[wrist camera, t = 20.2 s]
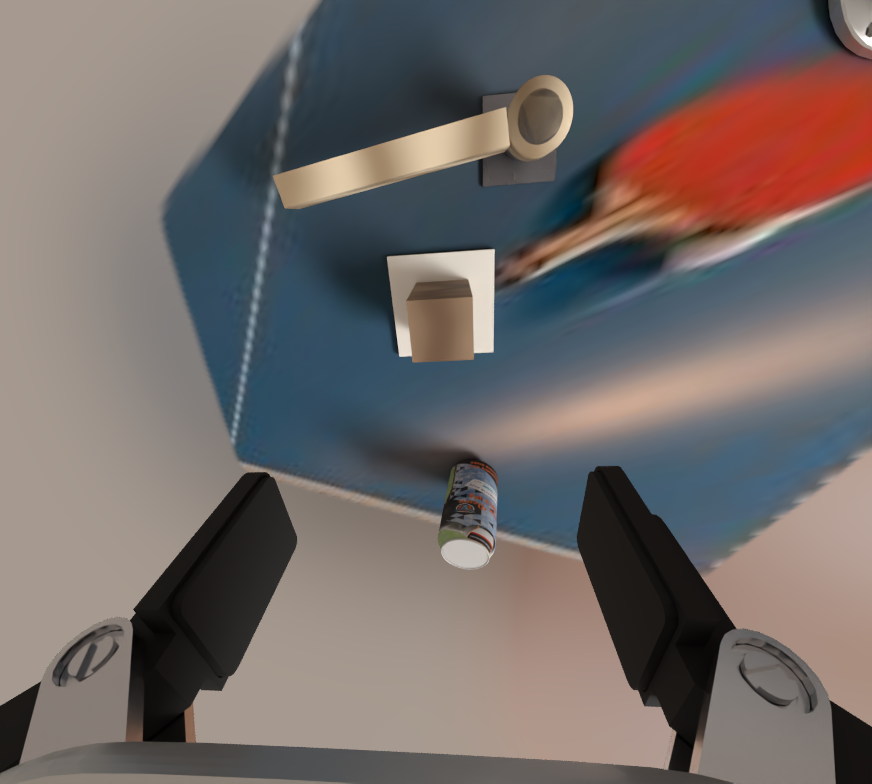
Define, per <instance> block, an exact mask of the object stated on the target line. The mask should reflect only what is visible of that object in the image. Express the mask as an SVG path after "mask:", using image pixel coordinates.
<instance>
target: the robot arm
mask: <svg viewBox="0 0 872 784" xmlns="http://www.w3.org/2000/svg"><path fill="white" fill-rule="evenodd" d="M828 4H829V13H830V19H831V21H832V24H833V27H834V30H835V33H836V35H837V36H838V37H839V39H840V40H841V41H842V43H843V44H844V46H845V47H847V48H848V49H849V50H851V51H852V52H854V53H855V54H856V55H858V56H862V57H865V58H868V59H871V60H872V0H828ZM577 543H578V548H579V551H580V553H581V556H582V559H583V562H584V564H585V567H586V570H587V572H588V575H589V578H590V581H591V583H592V586H593V589H594V592H595V594H596V597H597V600H598V602H599V605H600V608H601V610H602V613H603V616H604V619H605V621H606V624H607V627H608V629H609V632H610V635H611V638H612V640H613V643H614V646H615V648H616V651H617V654H618V656H619V659H620V662H621V665H622V668H623V670H624V673H625V675H626V678H627V681H628V683H629V685H630V687H631V688H632V689H633V690H638V691H639V693H640V696H641V698H642V701H643V704H644V706H652V707H653V706H655V707H662V710H663V712H664V715H665V717H666V719H667V722H668V724H669V726H670V727H671V728H672V729H673V730H672V734H671V738H670V743H669V747H668V751H667V755H666V759H665V764H664V768H663V769H658V768H651V767H639V766H624V765H613V764H599V763H587V762H573V761H556V760H539V759H521V758H503V757H484V756H466V755H448V754H429V753H409V752H407V753H406V752H389V751H369V750H348V749H328V748H306V747H284V746H262V745H240V744H239V745H238V744H216V743H196V737H195V724H194V710H193V701H194V699H195V697H196V695H197V693H198V691H199V690H200V689H201V690H215V691H222V689H223V687H224V685H225V683H226V681H227V679H228V677H229V676H231V675H233V674H234V673H235V671H236V670H237V668H238V666H239V664H240V662H241V660H242V658H243V656H244V653H245V652H246V650H247V648H248V646H249V644H250V641H251V639H252V637H253V635H254V633H255V631H256V629H257V627H258V625H259V623H260V621H261V619H262V617H263V615H264V612H265V610H266V608H267V606H268V604H269V602H270V600H271V598H272V596H273V594H274V592H275V590H276V587H277V585H278V583H279V581H280V579H281V577H282V575H283V573H284V571H285V569H286V567H287V565H288V562H289V561H290V558H291V556H292V554H293V552H294V550H295V548H296V544H297V536H296V533H295V530H294V528H293V526H292V523H291V520H290V518H289V515H288V512H287V510H286V507H285V505H284V502H283V499H282V497H281V494H280V491H279V489H278V486H277V484H276V481H275V479H274V478H273V477H270V475H269V474H268V473H266V472H254V473H246V474H244V475H243V476H242V477H241V478H240V480H239V481H238V482H237V483H236V485H235V486H234V487H233V488H232V489H231V491H230V492H229V493H228V494H227V496H226V497H225V498H224V499H223V500H222V502H221V503H220V504H219V505H218V507H217V508H216V509H215V510H214V511H213V513H212V514H211V515H210V516H209V518H208V519H207V520H206V521H205V522H204V524H203V525H202V526H201V527H200V529H199V530H198V531H197V532H196V533H195V535H194V536H193V537H192V538H191V540H190V541H189V542H188V543H187V544H186V546H185V547H184V548H183V549H182V551H181V552H180V553H179V554H178V555H177V557H176V558H175V559H174V560H173V562H172V563H171V564H170V565H169V567H168V568H167V569H166V570H165V571H164V573H163V574H162V575H161V576H160V577H159V579H158V580H157V581H156V582H155V584H154V585H153V586H152V587H151V589H150V590H149V591H148V592H147V593H146V595H145V596H144V597H143V598H142V599H141V601H140V602H139V603H138V605H137V606H136V607H135V608H134V609H133V610H134V611H135V612H136V614H135V615H134V616H133V617H132V619H131V620H130V621H129V620H128V619H127V618H122V617H116V618H111V619H107V620H104V621H102V622H99V623H97V624H95V625H93V626H91V627H90V628H88V629H87V630H85V631H83V632H82V633H80V634H79V635H78V636H76V637H75V638H74V639H73V640H71V641H70V642H69V643H68V644H67V645H66V646H65V647H64V648H63V649H62V650H61V651H60V652H59V653H58V654H57V655H56V656H55V658H54V659H53V660H52V662H51V663H50V664H49V666H48V667H47V669H46V671H45V674H44V676H43V678H42V681H41V682H39V683H38V684H36V685H34V686H33V687H31V688H29V689H28V690H26V691H24V692H23V693H21V694H19V695H18V696H16V697H14V698H13V699H11V700H9V701H8V702H6V703H5V704H3V705H1V706H0V784H872V727H871V726H870V725H868V724H866V723H865V722H863V721H862V720H860V719H859V718H857V717H855V716H854V715H852V714H851V713H849V712H847V711H846V710H844V709H843V708H841V707H840V706H838V705H837V704H835V703H833V702H832V701H830V700H829V698H828V694H827V692H826V690H825V688H824V687H823V685H822V683H821V681H820V680H819V678H818V677H817V675H816V674H815V673H814V672H813V671H812V670H811V668H810V667H809V666H808V665H807V664H806V663H805V662H804V661H803V660H802V659H801V658H800V657H799V656H797V655H796V654H795V653H794V652H792V650H790V649H789V648H788V647H786V646H784V645H783V644H781V643H780V642H778V641H777V640H775V639H773V638H771V637H769V636H766V635H764V634H762V633H760V632H757V631H752V630H748V629H736V627H735V626H734V624H733V623H732V621H731V620H730V619H729V617H728V616H727V614H726V613H725V611H724V610H723V608H722V607H721V605H720V604H719V602H718V601H717V600H716V598H715V596H714V595H713V594H712V592H711V591H710V589H709V588H708V586H707V585H706V583H705V582H704V580H703V579H702V577H701V576H700V574H699V573H698V571H697V570H696V568H695V567H694V565H693V564H692V563H691V561H690V560H689V558H688V557H687V555H686V554H685V552H684V551H683V549H682V548H681V546H680V545H679V543H678V542H677V540H676V539H675V537H674V536H673V534H672V533H671V532H670V530H669V529H668V527H667V526H666V524H665V523H664V522H663V520H662V519H661V518H660V517H658V516H657V515H652V514H651V513H650V511H649V510H648V508H647V506H646V505H645V503H644V502H643V500H642V499H641V497H640V496H639V494H638V493H637V491H636V490H635V488H634V487H633V485H632V484H631V482H630V480H629V479H628V477H627V476H626V474H625V473H624V471H623V470H622V469H621V467H619V466H598V467H596V468H595V471H594V472H590V473H589V475H588V480H587V485H586V491H585V496H584V501H583V507H582V512H581V517H580V523H579V528H578V533H577Z"/></svg>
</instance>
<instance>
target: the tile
mask: <svg viewBox="0 0 872 784" xmlns="http://www.w3.org/2000/svg"><path fill="white" fill-rule="evenodd" d="M494 251H495V249H483V250H469V251H455V252H440V253H426V254H412V255H398V256H387V263H388V271H389V278H390V286H391V294H392V302H393V310H394V318H395V326H396V334H397V342H398V349H399V357H402V356H412V351H411V342H410V333H409V323H408V314H407V305H406V300H407V298H408V297H409V295H410V293H411V291H412V289H413V288H414V286H415V284H416V283H419V282H435V281H451V280H466V279H468V280H469V284H470V288H471V292H472V296H473V337H474V353H485V352H493V338H494Z"/></svg>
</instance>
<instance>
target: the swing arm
mask: <svg viewBox="0 0 872 784" xmlns="http://www.w3.org/2000/svg"><path fill="white" fill-rule="evenodd" d="M572 117H573V102H572V97H571V94H570V92H569V90H568V88H567V87H566V85H565V84H564V83H563V82H562V81H561V80H560V79H558V78H556V77H554V76H550V75H541V76H537V77H534V78H532V79H530V80H529V81H527V82H526V83H525V84H524V85H523V86H522V87H521V88H520V89H519V90H518V91H517V93H516V95H515V96H514V98H513V100H512V102H511V104H510V106H509V108H508V110H507V111H506V107H504V108H501V109H497V110H494V111H491V112H487V113H484V114H480V115H477V116H474V117H470V118H467V119H464V120H460V121H457V122H453V123H450V124H447V125H443V126H440V127H436V128H433V129H430V130H426V131H423V132H420V133H416V134H413V135H409V136H406V137H403V138H399V139H396V140H392V141H389V142H386V143H382V144H379V145H375V146H372V147H369V148H365V149H362V150H359V151H355V152H352V153H348V154H345V155H342V156H338V157H335V158H331V159H328V160H325V161H321V162H318V163H315V164H311V165H308V166H304V167H301V168H298V169H294V170H291V171H287V172H284V173H281V174H277V175H274V176H273V178H274V181H275V183H276V186H277V189H278V191H279V194H280V197H281V199H282V202H283V204H284V207H285V208H290V209H301V208H304V207H308V206H311V205H315V204H319V203H322V202H326V201H330V200H333V199H337V198H340V197H344V196H348V195H351V194H355V193H358V192H362V191H366V190H369V189H373V188H376V187H380V186H384V185H387V184H391V183H395V182H398V181H402V180H405V179H409V178H413V177H416V176H420V175H423V174H427V173H431V172H434V171H438V170H442V169H445V168H449V167H452V166H456V165H460V164H463V163H467V162H470V161H474V160H478V159H481V158H485V157H489V156H492V155H496V154H499V153H503V152H505V151H506V153H507V154H508V156H509V157H511V158H512V159H514V160H521V161H526V162H531V161H536V160H538V159H540V158H542V157H544V156H545V155H547V154H548V153H550V152H551V151H553V150H554V149H555V148H557V147H558V146H559V145H560V144H561V142H562V141H563V140H564V138H565V137H566V135H567V133H568V131H569V129H570V126H571V122H572Z"/></svg>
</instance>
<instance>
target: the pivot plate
mask: <svg viewBox="0 0 872 784" xmlns="http://www.w3.org/2000/svg"><path fill="white" fill-rule="evenodd" d="M515 95H516V93H508V94H499V95H489V96H483V114H484V113H487V112H491V111H494V110H497V109H501V108H504V107H506V111H507V110H508V108H509V106H510V104H511V102H512V100H513V98H514V96H515ZM556 157H557V148H555V149H554V150H553V151H551V152H550V153H548V154H547V155H545V156H544V157H542V158H540V159H538V160H536V161H531V162H526V161H521V160H514V159H512V158H511V157H509V156H508V154H507V153H506V151H505V152H503V153H499V154H496V155H492V156H489V157H485V158H483V187H488V186H500V185H513V184H525V183H537V182H549V181H555V170H556Z"/></svg>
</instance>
